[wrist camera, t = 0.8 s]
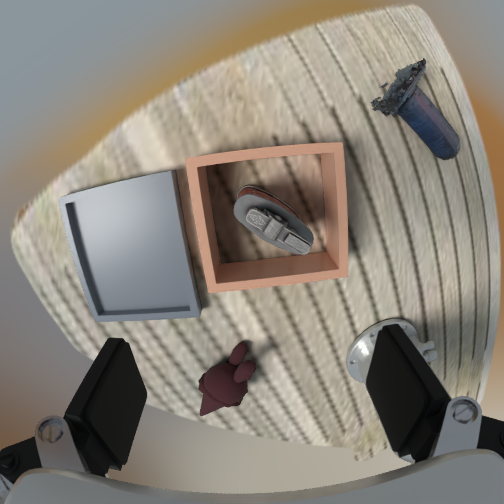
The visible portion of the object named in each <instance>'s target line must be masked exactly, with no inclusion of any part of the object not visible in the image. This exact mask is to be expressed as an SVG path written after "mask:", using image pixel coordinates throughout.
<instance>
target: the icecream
mask: <svg viewBox="0 0 504 504" xmlns="http://www.w3.org/2000/svg"><path fill="white" fill-rule="evenodd" d="M247 348H248V346H247V344H246V343H244V342H242V343H239V344H238V345H237V346H236V347H235V348H234V349H233V351H232V353H231V356H230V360H229V363H221V364H219V365H216V366H214V367H211V368H210V369H209V370H208V371H207V372H206V373H204V374H203V375H202V377H201V378H200V379H199V390H200V391H201V392H202V393H203V399H202V404H201V409H200V416H204V415H206V414H208V413H211V412H213V411H215V410H217V409H220V408H222V407H224V406H225V407H231V406H238V405H240V404H241V401H242V400H243V397H244V396H245V394H246V393H247V392H248V389H247V380H249V379H251V377H252V375H253V373H254V372H255V370H256V363H255V362H254V361H251V360H247V361H244V362H242V363H241V361H242V360H243V359H244V356H245V354H246V352H247ZM240 363H241V364H240ZM239 364H240V365H239ZM238 365H239V366H238Z"/></svg>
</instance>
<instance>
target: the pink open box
mask: <svg viewBox="0 0 504 504" xmlns="http://www.w3.org/2000/svg"><path fill="white" fill-rule="evenodd" d="M319 153H320V155H321V166H322V178H323V191H324V206H325V224H326V249H327V252H320V253H311V254H306V255H295V256H286V257H278V258H269V259H260V260H252V261H243V262H234V263H225V264H221V262H220V256H219V250H218V244H217V238H216V232H215V225H214V219H213V213H212V206H211V200H210V193H209V186H208V179H207V172H206V166H207V165H214V164H221V163H228V162H235V161H243V160H251V159H260V158H270V157H280V156H291V155H304V154H319ZM185 162H186V169H187V176H188V182H189V189H190V195H191V201H192V207H193V213H194V219H195V225H196V231H197V236H198V242H199V247H200V253H201V258H202V263H203V268H204V274H205V279H206V284H207V288H208V293H215V292H226V291H235V290H245V289H254V288H263V287H271V286H280V285H288V284H296V283H304V282H312V281H320V280H327V279H334V278H341V277H348V214H347V191H346V175H345V161H344V150H343V142H332V143H312V144H297V145H285V146H274V147H264V148H254V149H246V150H238V151H230V152H223V153H216V154H210V155H203V156H197V157H191V158H185Z"/></svg>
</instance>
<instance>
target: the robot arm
mask: <svg viewBox="0 0 504 504" xmlns="http://www.w3.org/2000/svg"><path fill="white" fill-rule="evenodd" d="M418 340H419V339H418V334H417V331H416V329H415V328H414V327H413V325H411V324H410V323H409V322H407V321H405V320H402V319H390V320H385V321H382V322H379V323H377V324H375V325H373V326H371V327H370V328H368V329H367V330H366V331H364V332H363V333H362V334H361V335H360V336H359V337H358V338H357V339H356V340H355V341H354V343H353V344H352V346H351V347H350V349H349V351H348V354H347V358H346V366H347V369H348V372H349V374H350V375H351V377H352V378H354V379H355V380H357V381H359V382H362V383H364V384H365V386H366V388H367V391H368V393H369V395H370V398H371V400H372V402H373V405H374V407H375V410H376V412H377V414H378V417H379V419H380V422H381V424H382V427H383V429H384V432H385V434H386V437H387V439H388V442H389V444H390V447H391V449H392V451H393V452H394V453H395V455H397V456H398V457H399V458H401V459H402V460H405V461H407V462H411V465H409V466H406V467H403V468H400V469H397V470H393V471H389V472H386V473H382V474H379V475H375V476H371V477H367V478H364V479H359V480H355V481H351V482H346V483H341V484H336V485H331V486H325V487H319V488H312V489H304V490H297V491H287V492H274V493H255V494H217V493H199V492H186V491H178V490H169V489H162V488H155V487H149V486H143V485H138V484H132V483H128V482H123V481H118V480H114V479H110V478H109V476H108V474H107V473H108V469H109V468H111V469H115V470H119V471H121V468H122V465H125V464H126V463H127V460H128V456H129V453H130V450H131V446H132V443H133V440H134V436H135V433H136V430H137V427H138V424H139V421H140V417H141V414H142V411H143V408H144V405H145V402H146V399H147V390H146V388H145V385H144V383H143V380H142V378H141V375H140V373H139V370H138V367H137V365H136V362H135V359H134V356H133V354H132V351H131V348H130V345H129V343H128V342H125V340H124V339H123V338H108V339H107V341H106V342H105V344H104V346H103V347H102V349H101V351H100V352H99V354H98V356H97V357H96V359H95V361H94V362H93V364H92V366H91V367H90V369H89V371H88V372H87V374H86V376H85V378H84V379H83V381H82V383H81V385H80V386H79V388H78V390H77V392H76V393H75V395H74V397H73V399H72V401H71V403H70V404H69V406H68V408H67V410H66V412H65V415H64V417H63V418H62V417H60V416H56V415H51V416H47V417H45V418H43V419H42V420H40V421H39V422H38V424H37V425H36V427H35V431H34V432H35V436H34V437H32V438H30V439H27V440H24V441H22V442H19V443H16V444H14V445H11V446H8V447H6V448H4V449H2V450H1V451H0V504H504V421H500V420H497V419H493V418H489V417H486V416H482V411H481V407H480V405H479V404H478V403H477V401H475V400H474V399H472V398H470V397H467V396H459V397H456V398H454V399H452V398H451V397H450V395H449V394H448V392H447V390H446V389H445V387H444V386H443V384H442V383H441V382H440V380H439V379H438V377H437V376H436V374H435V373H434V371H433V370H432V368H431V367H430V366H429V364H428V363H427V362H430V361H433V360H436V359H437V356H438V354H437V351H436V349H432V348H434V346H435V344H434V341H433V340H431V341H428V342H425V343H421V342H419V341H418ZM429 349H432V350H429ZM424 350H428V351H425V352H424V353H423V351H424Z"/></svg>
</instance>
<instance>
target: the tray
mask: <svg viewBox="0 0 504 504" xmlns="http://www.w3.org/2000/svg"><path fill="white" fill-rule="evenodd" d="M58 200H59V205H60V210H61V214H62V219H63V223H64V227H65V231H66V235H67V239H68V243H69V246H70V250H71V253H72V257H73V260H74V264H75V267H76V270H77V273H78V276H79V279H80V282H81V285H82V288H83V291H84V294H85V297H86V300H87V302H88V305H89V308H90V310H91V313H92V315H93V318H94V320H95V322H110V321H140V320H160V319H177V318H191V317H200V315H201V311H202V306H201V301H200V297H199V293H198V288H197V283H196V279H195V274H194V269H193V264H192V259H191V255H190V249H189V244H188V239H187V234H186V228H185V223H184V217H183V212H182V206H181V200H180V194H179V188H178V182H177V175H176V170H171V171H166V172H160V173H155V174H150V175H146V176H141V177H136V178H132V179H127V180H123V181H119V182H114V183H110V184H106V185H102V186H98V187H94V188H90V189H87V190H83V191H79V192H76V193H72V194H69V195H65V196H62V197H59V198H58Z"/></svg>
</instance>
